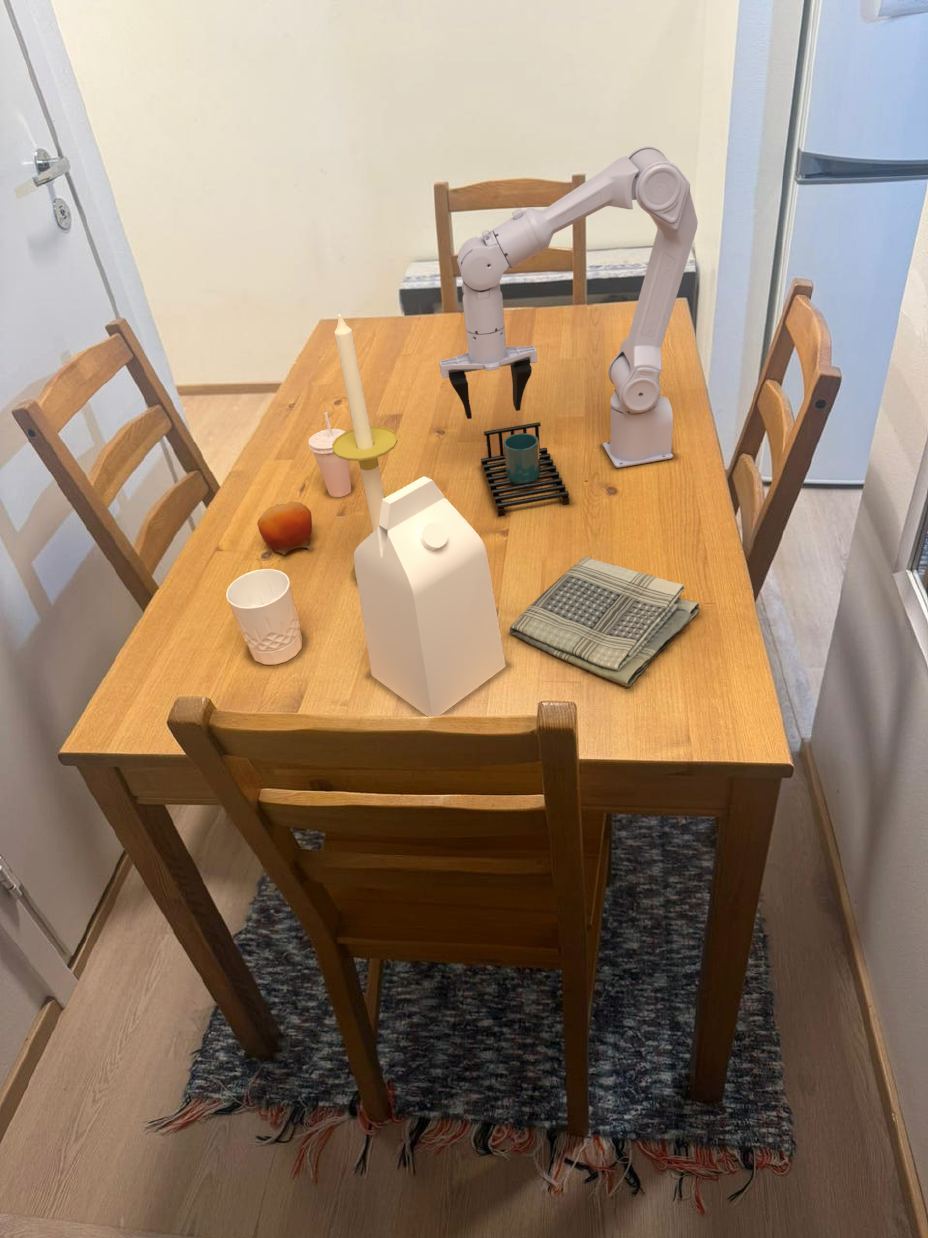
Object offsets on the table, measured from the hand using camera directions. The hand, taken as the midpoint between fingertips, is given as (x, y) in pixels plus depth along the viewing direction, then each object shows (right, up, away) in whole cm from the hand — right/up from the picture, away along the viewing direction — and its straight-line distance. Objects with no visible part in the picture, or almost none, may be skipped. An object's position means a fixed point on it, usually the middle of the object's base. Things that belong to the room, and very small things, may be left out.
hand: (492, 411), depth 137 cm
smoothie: (-25, -11, +7) cm, 28 cm away
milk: (-8, -39, -29) cm, 49 cm away
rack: (+5, -11, +2) cm, 12 cm away
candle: (-15, -25, -11) cm, 32 cm away
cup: (+5, -10, +1) cm, 11 cm away
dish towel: (+14, -33, -25) cm, 44 cm away
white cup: (-29, -36, -22) cm, 51 cm away
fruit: (-31, -21, -4) cm, 37 cm away
